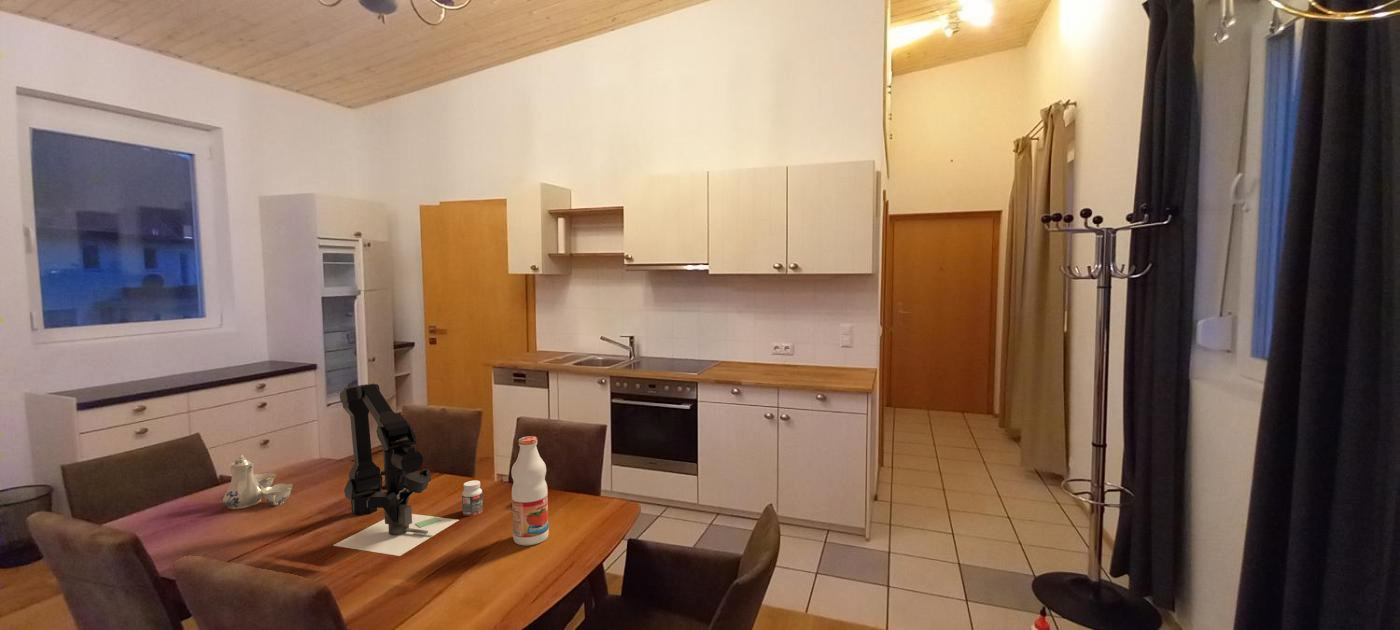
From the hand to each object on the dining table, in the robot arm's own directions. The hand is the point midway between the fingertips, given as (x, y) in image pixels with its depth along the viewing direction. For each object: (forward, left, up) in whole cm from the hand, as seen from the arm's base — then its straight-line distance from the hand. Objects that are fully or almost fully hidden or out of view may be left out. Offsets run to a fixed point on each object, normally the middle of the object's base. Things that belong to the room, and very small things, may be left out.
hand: (398, 519), depth 157 cm
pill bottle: (+11, +17, -5) cm, 21 cm away
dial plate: (0, 0, -4) cm, 4 cm away
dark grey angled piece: (+3, 0, -3) cm, 4 cm away
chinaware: (-66, +8, -5) cm, 67 cm away
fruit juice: (+37, +8, -5) cm, 38 cm away
